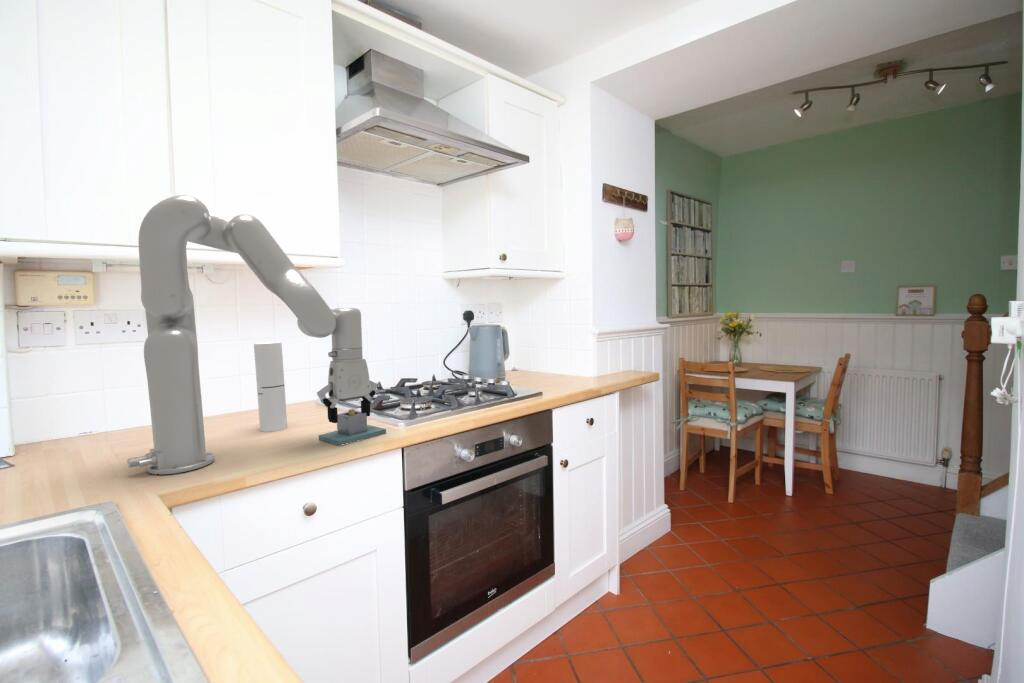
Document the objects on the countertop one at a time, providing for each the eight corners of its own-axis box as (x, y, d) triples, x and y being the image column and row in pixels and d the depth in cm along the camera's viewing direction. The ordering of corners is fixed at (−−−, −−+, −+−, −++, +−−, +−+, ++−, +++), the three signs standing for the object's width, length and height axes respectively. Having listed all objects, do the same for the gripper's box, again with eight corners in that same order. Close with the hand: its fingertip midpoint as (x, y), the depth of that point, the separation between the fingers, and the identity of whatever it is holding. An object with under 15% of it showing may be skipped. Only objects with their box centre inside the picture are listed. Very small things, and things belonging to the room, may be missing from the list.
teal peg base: (339, 446, 121) (338, 417, 121) (318, 439, 128) (316, 412, 127) (386, 433, 132) (384, 407, 132) (364, 428, 139) (363, 403, 138)
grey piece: (280, 431, 138) (273, 343, 136) (255, 432, 138) (248, 344, 136) (291, 425, 145) (286, 341, 143) (268, 425, 145) (262, 342, 143)
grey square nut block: (349, 436, 126) (348, 417, 126) (337, 432, 129) (336, 414, 129) (367, 431, 130) (366, 412, 130) (355, 428, 134) (354, 410, 133)
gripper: (324, 358, 119) (327, 427, 120) (383, 352, 132) (385, 414, 134) (308, 356, 124) (311, 423, 125) (367, 351, 137) (369, 411, 138)
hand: (349, 418), depth 129 cm, fingers open, 9 cm apart
